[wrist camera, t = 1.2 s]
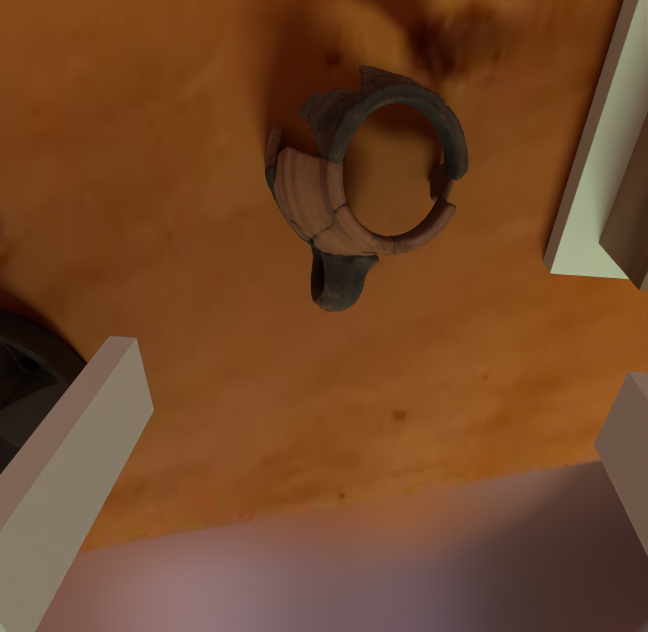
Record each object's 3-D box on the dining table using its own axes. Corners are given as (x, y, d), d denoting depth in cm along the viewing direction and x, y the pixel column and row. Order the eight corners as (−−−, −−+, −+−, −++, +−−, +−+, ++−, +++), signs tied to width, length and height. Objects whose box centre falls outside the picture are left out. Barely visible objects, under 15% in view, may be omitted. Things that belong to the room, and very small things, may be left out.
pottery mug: (254, 67, 25) (310, 42, 18) (409, 91, 29) (508, 78, 22) (246, 290, 29) (290, 342, 22) (384, 286, 33) (460, 329, 25)
